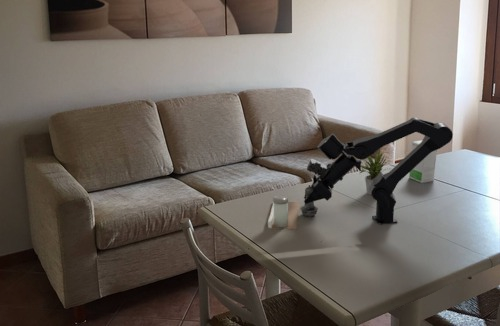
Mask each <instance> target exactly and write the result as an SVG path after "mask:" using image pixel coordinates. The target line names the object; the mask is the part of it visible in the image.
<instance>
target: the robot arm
mask: <svg viewBox="0 0 500 326" xmlns="http://www.w3.org/2000/svg"><path fill="white" fill-rule="evenodd" d="M414 133H418V134H420V135H423V136H424V137H423V139H421V140H422V142H421V143H420V144H419V145H418V146H417V147H416V148H415V149H414V150H413V151H410V152H409V153H408V154H407V155H406V156H405V157H404V158H403V159H402V160H400V162H398V163H397V164H396V166H394V167H393V168H391V169H390V171H388V172H387V173H383V171H381V172H380V173H379V174H378V175H377V177H375V178H374V179H372V181H373V182H372V183H371V185H370V190H371V194H372V195H371V196H372V198H373V199H374V200H375V201H376V206H375V207H376V208H375V210H376V211H375V215H372V216H371V218H372V219H373V220H374V221H375V222H376V223H377V224H379V225H384V224H386V225H387V224H394V223H395V224H397V223H398V220H397V219H396V218H395V217H394V215H395V213H394V212H395V206H396V204H397V201H396V200H397V199H396V197H395V194H394V193H393V192H394V191H395V189H396V187H397V186H398V184H399V182H401V181H402V180H403V179H404V178H405V177H406V176H407V175H409V172H410V171H411V170H412V169H413V168H415V167H416V166H417V165H418V164H419V163H420V162H421V161H422V160H423V159H424V158H425V157H427V156H428V155H429V154H430V153H431V152H433V151H435V150H437V151H438V150H440V149H442V148H443V147H444V146H446V145H447V144H450V142H452V140H453V138H454V137H453V135H454V134H453V131H452V129H451V128H450V127H449V126H448V125H446V124H445V123H442V122H435V123H434V122H431V121H428V120H424V119H420V118H418V117H411V118H410V119H408V120H406V121H404V122H401V123H398V124H397V125H395V126H392V127H390V128H388V129H387V130H384V131H382V132H379V133H377V134H374V135H367V136H362V137H359V138H356V139H354V140H353V141H348V142H342V141H340V140H339V138H337V136H336V135H335V133H331V134H330V135H328V136H327V137H325V138H323V139H322V140H321V141H320V142H319V144H318V145H317V147H316V148H317V149H318V150H319V151H320V152H321V153H322V154H323V155H325V157H326V158H327V159H328V160H334V161H333V162H329V163H327V164H324V163H323V162H322V161H321V162H320V161H318V160H316V159H314V158H311V159H310V160H309V162H308V165H307V166H306V170H307V171H308V172H310V173H311V172H312V173H313V174H314V175H313V182H312V183H311V185H310V187H312V188H313V190H312V191H311V193H310V194H309V195H308V196H307V198H306V199H304V200H303V202H304V204H307V203H310V202H313V201H314V202H316V201H317V202H318V201H320V200H323V199H325V200H326V201H329V200H330V199H331V198H332V195H333V192H332V190H333V188H335V185H336V184H338V182H339V181H340V182H342V180H344V178H343V177H344V176H346V175H347V174H348V173H350V171H351V170H353V169H354V168H357V170H358V171H360V170H362V169H361V168H362V167H361V165H362V161H364V159H365V160H366V159H368V157H369V156H371V157H372V155H374V154H375V153H376V152H377V151H378V150H380V149H381V148H382V147H384V146H387V145H390V144H392V143H394V142H396V141H398V140H401V139H403V138H405V137H408V136H410V135H412V134H414Z"/></svg>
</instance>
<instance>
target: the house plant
mask: <svg viewBox="0 0 500 326" xmlns="http://www.w3.org/2000/svg"><path fill="white" fill-rule="evenodd" d="M384 153H385V152H384V150H383V151H381V152H380V154H379V153H378V152H377V153H376V155H375V157H374V160H373V158H372V155H371V156H369V157H368V158H367V160H366V159H363V163H364V165H362V164H361V170H359V173H358V174H359V175H360V174H361V173H364V172H365V173H367V175H365V177H364V179H365V186H366V194H367V195H369V196H372V194H371V190H370V185H371V183H372V182H373V181H372V179H374V178H375V177H377V175H378V174H379V173H380V172H384V171H386V170H387V168H385V169H383V167H384V166H385V165H386V164H387V163H388V162H389V160H387V158H388V156H386V154H384ZM378 154H379V155H378ZM386 160H387V161H386ZM385 161H386V162H385Z"/></svg>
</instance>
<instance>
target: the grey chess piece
mask: <svg viewBox="0 0 500 326" xmlns="http://www.w3.org/2000/svg"><path fill="white" fill-rule="evenodd" d="M312 190H313V188H312V187H311V185H310V184H309V185H308V186H307V187H305V189H304V196H303V199H304V200H305V199H306V198H307V196H308V195H309V194H310V193H311V191H312ZM299 210H301V213H302V215H303V216H304V217H314V216H316V214H317V212H318V210H319V208H318V207H317V206H315V201H313V202H310V203H307V204H305V203H304V205H303V206H301V207H299Z"/></svg>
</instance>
